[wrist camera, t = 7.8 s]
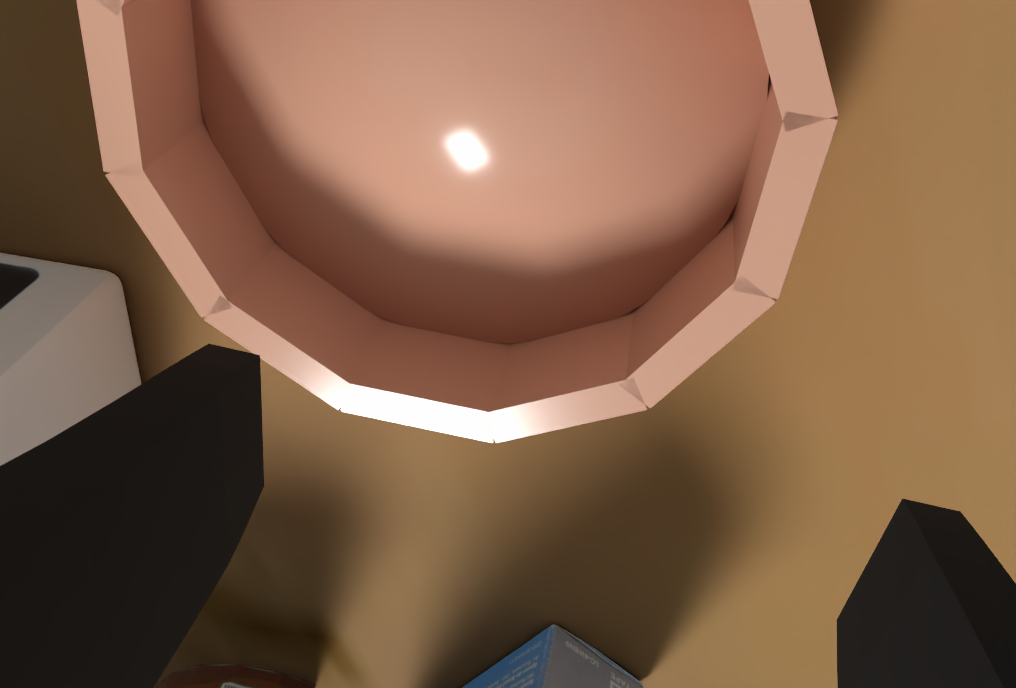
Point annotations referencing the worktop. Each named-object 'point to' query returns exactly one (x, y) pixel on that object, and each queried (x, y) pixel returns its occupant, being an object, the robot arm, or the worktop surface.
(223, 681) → the food container
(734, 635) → the worktop surface
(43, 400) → the container
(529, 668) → the label tape box
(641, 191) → the bowl
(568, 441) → the worktop surface
